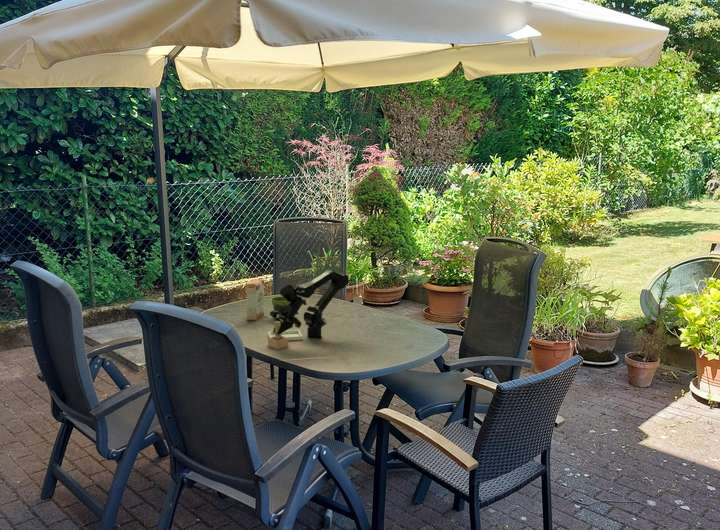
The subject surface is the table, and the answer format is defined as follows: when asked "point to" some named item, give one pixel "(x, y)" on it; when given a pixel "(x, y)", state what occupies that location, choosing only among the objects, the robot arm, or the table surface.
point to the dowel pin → (277, 327)
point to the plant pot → (279, 302)
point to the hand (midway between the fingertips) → (275, 333)
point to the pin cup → (278, 342)
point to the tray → (289, 335)
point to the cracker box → (255, 299)
